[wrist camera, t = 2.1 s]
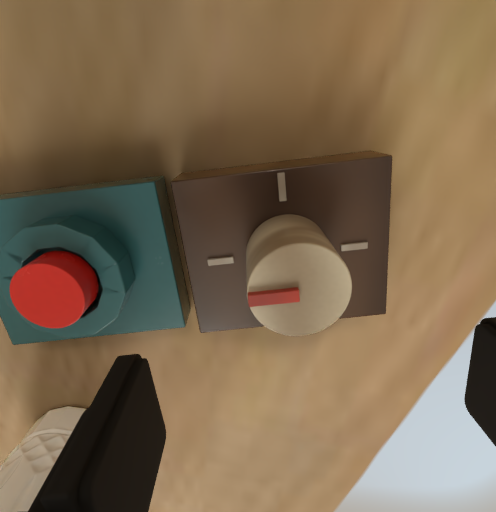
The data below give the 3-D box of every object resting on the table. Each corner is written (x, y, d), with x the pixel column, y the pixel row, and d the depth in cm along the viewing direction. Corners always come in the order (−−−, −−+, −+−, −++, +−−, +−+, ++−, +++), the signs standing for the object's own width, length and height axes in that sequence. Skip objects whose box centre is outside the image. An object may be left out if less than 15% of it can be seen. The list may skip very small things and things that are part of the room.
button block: (163, 175, 20) (145, 187, 16) (190, 309, 23) (180, 345, 19) (-20, 196, 20) (-80, 213, 16) (33, 325, 23) (-7, 364, 20)
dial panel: (371, 150, 19) (394, 155, 16) (368, 290, 23) (387, 315, 20) (180, 173, 20) (169, 182, 17) (205, 307, 23) (199, 335, 20)
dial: (326, 209, 17) (354, 239, 13) (328, 285, 19) (354, 335, 15) (241, 218, 18) (240, 252, 13) (251, 293, 19) (253, 346, 15)
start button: (88, 246, 17) (72, 259, 16) (106, 307, 19) (93, 325, 17) (20, 254, 18) (-3, 267, 16) (43, 313, 19) (24, 332, 17)
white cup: (55, 478, 29) (-35, 647, 20) (8, 410, 26) (-122, 570, 17) (142, 461, 28) (92, 628, 19) (104, 389, 25) (23, 544, 16)
